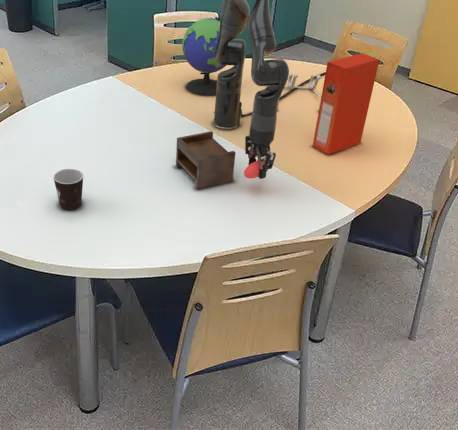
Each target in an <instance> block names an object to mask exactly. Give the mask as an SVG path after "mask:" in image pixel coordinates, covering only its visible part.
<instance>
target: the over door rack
mask: <svg viewBox="0 0 458 430" xmlns="http://www.w3.org/2000/svg"><path fill="white" fill-rule="evenodd" d="M315 76H317V77H316V78H315V79H314V77H315ZM297 78H299V74H298V73H294V74H293V72H291V73H289V76H288V80H287V83H288V84H287V85H285V87H284V88H292V89H293V88H297V89H307V90H311V91H312V92H313V93H314V94H316V95H317V96H318V98H319V100H320V101H321V96H322V95H320V94H319V93H318V92H317V91H316V90H315V89H316V88H317V86H318V83H319V82H320V81H319V80H321V79H322V76H320V75H319V74H317V75H315V74H314V73H313V74H310V78H311V79H310V78H309V79H310V81H309V82H308V84H309V86H298V85H296V82H297V81H296V80H297ZM313 82H314V83H313ZM268 86H269V85H268ZM268 86H267V87H268ZM279 104H280V100H279V101H278V107H277V111H278V110H279Z"/></svg>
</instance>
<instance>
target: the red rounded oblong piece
mask: <svg viewBox="0 0 458 430" xmlns="http://www.w3.org/2000/svg"><path fill="white" fill-rule="evenodd" d="M264 163H265V161H263V165H264ZM259 169H260V163H259V162H258V159H256V161H255V162H253V163H251V164H250V165H247V166H246V167H245V169H243V175H244V177H245V178H246V179H257V178H258V176H259ZM268 171H269V169H268V170H267V172H268Z"/></svg>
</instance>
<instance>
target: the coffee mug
mask: <svg viewBox="0 0 458 430" xmlns="http://www.w3.org/2000/svg"><path fill="white" fill-rule="evenodd" d="M53 181H54V186H55V190H56V194H57V198H58V203H59V207H60V208H61V209H62V210H63V211H64V210H65V211H69V212H70V211H75V210H79V209H80V208H81V207H82V200H83V185H84V174H83V172H82V171H81V170H78V169H76V168H64V169H60V170H58V171H57V172H55V173H54V174H53Z"/></svg>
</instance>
